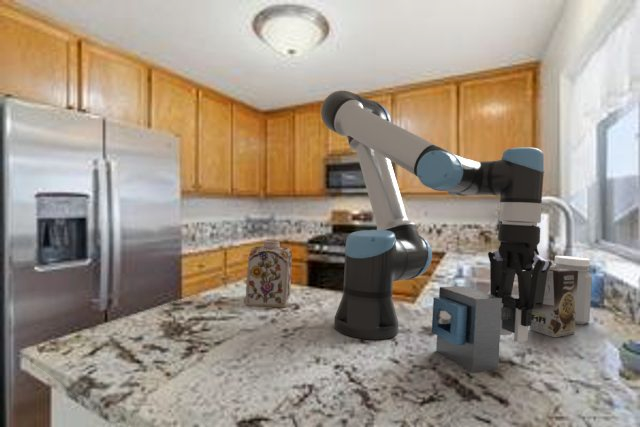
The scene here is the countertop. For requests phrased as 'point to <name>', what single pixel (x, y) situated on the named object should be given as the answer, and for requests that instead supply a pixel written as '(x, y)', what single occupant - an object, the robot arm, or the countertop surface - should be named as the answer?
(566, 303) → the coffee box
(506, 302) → the shaft
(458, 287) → the block
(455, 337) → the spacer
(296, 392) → the countertop surface
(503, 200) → the robot arm
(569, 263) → the jar
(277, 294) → the decorative jar
